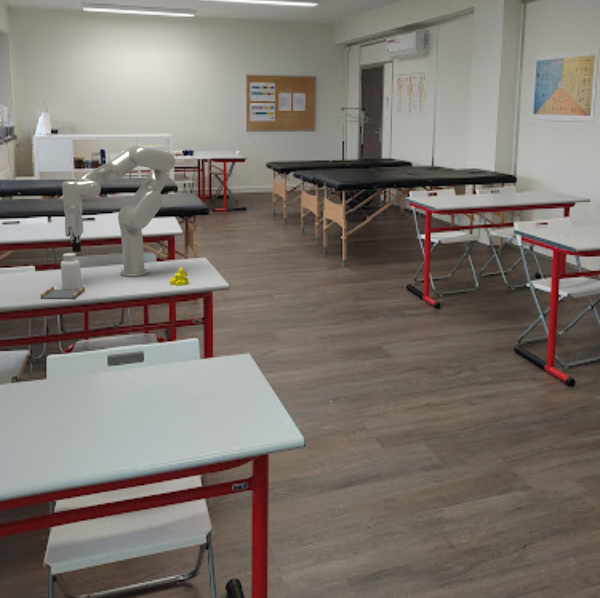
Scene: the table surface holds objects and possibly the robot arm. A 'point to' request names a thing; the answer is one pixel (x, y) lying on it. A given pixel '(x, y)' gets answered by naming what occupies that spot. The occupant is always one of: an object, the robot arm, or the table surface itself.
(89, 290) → the table surface
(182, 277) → the yellow lumpy pyramid
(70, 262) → the pill bottle
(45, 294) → the rails
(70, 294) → the grey tray
